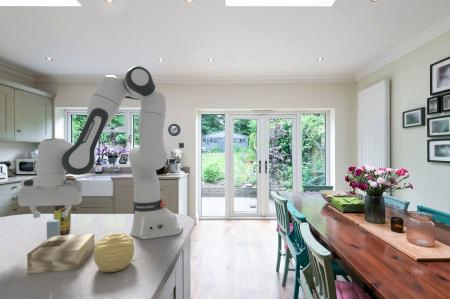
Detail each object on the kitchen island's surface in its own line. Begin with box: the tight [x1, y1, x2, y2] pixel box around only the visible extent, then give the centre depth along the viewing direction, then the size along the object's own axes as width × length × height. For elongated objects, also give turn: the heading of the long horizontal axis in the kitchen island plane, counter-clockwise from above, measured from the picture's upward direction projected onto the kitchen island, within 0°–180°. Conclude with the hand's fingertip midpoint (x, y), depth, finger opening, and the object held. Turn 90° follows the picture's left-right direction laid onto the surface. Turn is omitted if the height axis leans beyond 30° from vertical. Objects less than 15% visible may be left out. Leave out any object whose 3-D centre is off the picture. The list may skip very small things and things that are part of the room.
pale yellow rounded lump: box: [93, 232, 135, 273], centre depth 74 cm, size 12×12×11 cm
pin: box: [46, 219, 61, 240], centre depth 88 cm, size 4×4×10 cm
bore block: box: [26, 233, 95, 274], centre depth 78 cm, size 14×14×6 cm
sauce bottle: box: [53, 205, 72, 236], centre depth 103 cm, size 6×6×20 cm
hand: (51, 217), depth 88 cm, fingers open, 8 cm apart
